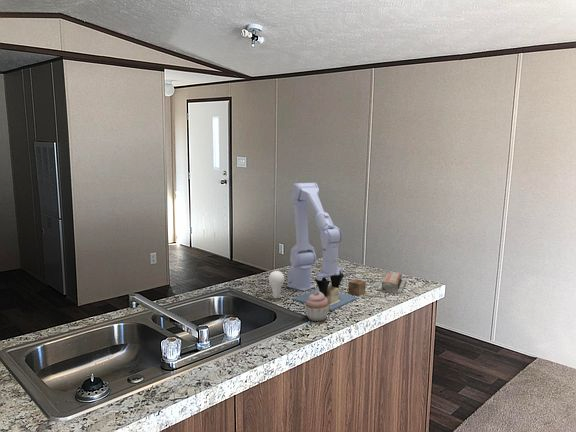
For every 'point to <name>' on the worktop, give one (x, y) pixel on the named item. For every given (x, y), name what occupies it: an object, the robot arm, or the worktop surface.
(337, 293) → the maple block
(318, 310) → the cupcake
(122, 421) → the worktop surface
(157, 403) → the worktop surface
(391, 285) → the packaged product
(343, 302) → the board
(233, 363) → the worktop surface
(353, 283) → the walnut block
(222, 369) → the worktop surface
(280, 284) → the lightbulb
